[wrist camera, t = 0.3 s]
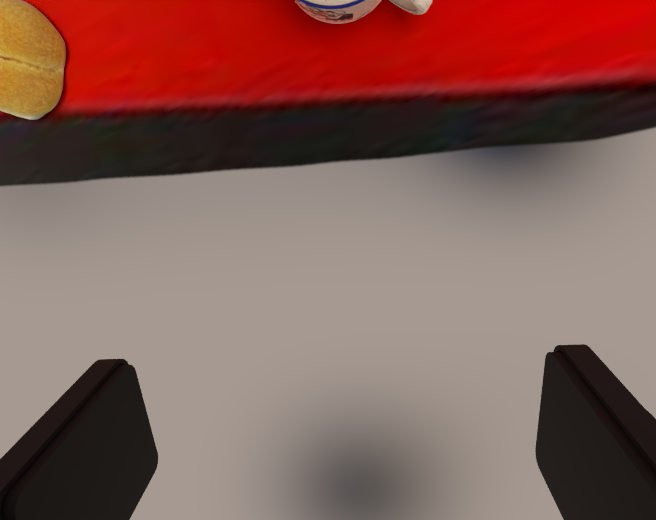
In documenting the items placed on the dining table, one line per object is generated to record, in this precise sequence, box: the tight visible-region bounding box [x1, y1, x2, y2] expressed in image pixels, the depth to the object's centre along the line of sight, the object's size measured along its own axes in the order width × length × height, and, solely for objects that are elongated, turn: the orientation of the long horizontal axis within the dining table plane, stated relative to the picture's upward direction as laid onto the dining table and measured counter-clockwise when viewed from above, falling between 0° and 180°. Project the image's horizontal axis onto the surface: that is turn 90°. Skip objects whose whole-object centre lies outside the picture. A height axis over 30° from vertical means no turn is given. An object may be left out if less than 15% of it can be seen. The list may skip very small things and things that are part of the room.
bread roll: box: [0, 0, 66, 120], centre depth 36 cm, size 8×9×4 cm
